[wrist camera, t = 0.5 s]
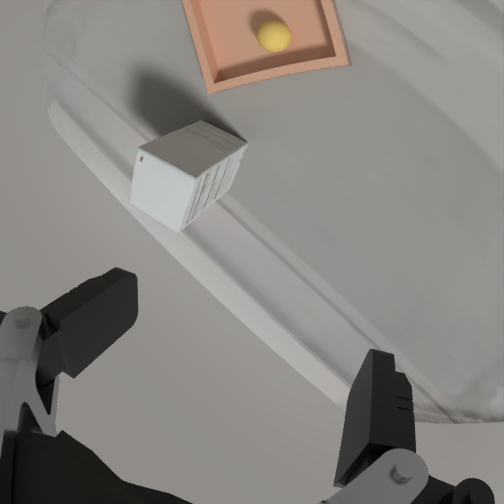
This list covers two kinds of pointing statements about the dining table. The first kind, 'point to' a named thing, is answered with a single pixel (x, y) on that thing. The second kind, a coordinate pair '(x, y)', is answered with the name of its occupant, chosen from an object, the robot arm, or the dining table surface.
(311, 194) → the dining table surface
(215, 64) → the tray
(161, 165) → the supplement box
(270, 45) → the ball
